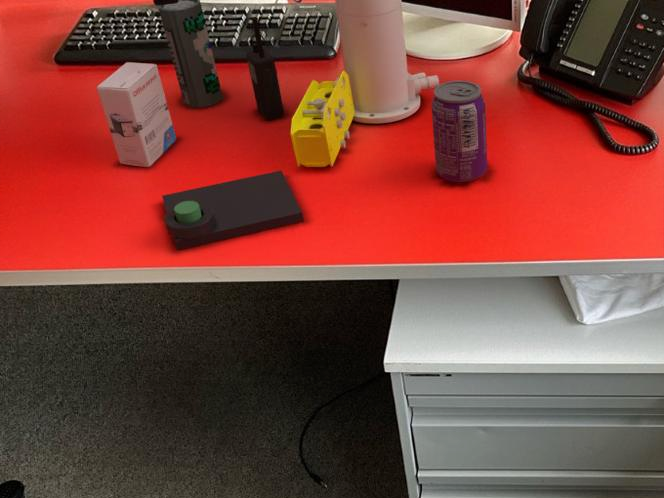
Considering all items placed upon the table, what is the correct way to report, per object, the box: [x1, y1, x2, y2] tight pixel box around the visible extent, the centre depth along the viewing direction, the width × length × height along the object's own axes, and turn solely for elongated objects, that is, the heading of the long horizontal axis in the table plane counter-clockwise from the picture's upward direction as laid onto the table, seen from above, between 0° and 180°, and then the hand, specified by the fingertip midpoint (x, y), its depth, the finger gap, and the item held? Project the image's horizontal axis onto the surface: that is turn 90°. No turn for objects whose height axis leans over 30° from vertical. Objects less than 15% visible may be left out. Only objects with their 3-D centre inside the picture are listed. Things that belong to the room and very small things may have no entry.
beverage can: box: [430, 80, 488, 183], centre depth 119 cm, size 7×7×12 cm
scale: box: [161, 169, 305, 251], centre depth 116 cm, size 16×12×3 cm
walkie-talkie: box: [245, 16, 285, 121], centre depth 134 cm, size 5×3×15 cm
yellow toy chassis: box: [290, 70, 355, 168], centre depth 128 cm, size 16×6×8 cm, turn 176°
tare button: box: [174, 201, 202, 223], centre depth 111 cm, size 3×3×2 cm
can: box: [157, 0, 224, 109], centre depth 138 cm, size 6×6×15 cm
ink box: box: [96, 61, 177, 168], centre depth 126 cm, size 9×5×12 cm, turn 168°
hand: (167, 2), depth 120 cm, fingers closed
